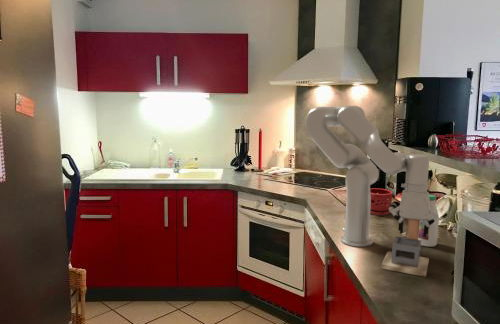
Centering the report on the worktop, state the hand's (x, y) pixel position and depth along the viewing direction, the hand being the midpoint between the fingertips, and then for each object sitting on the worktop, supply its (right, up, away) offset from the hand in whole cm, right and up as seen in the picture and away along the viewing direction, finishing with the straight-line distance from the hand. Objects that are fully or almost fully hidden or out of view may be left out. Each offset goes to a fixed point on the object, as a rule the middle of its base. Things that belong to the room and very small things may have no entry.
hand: (412, 233), depth 150 cm
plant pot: (+5, 0, +57) cm, 57 cm away
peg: (0, -8, +1) cm, 8 cm away
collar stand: (-7, -9, -10) cm, 15 cm away
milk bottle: (+10, -6, +12) cm, 17 cm away
